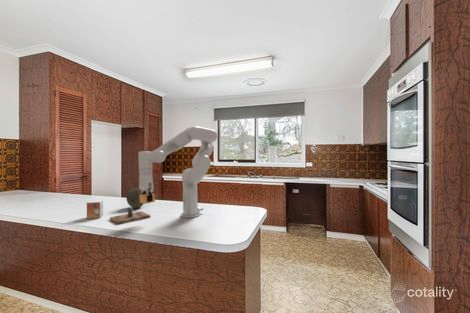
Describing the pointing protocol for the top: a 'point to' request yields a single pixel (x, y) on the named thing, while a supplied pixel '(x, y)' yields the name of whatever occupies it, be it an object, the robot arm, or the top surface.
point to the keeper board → (129, 217)
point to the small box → (94, 209)
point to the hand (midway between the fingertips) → (147, 200)
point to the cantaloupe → (134, 198)
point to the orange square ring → (145, 198)
